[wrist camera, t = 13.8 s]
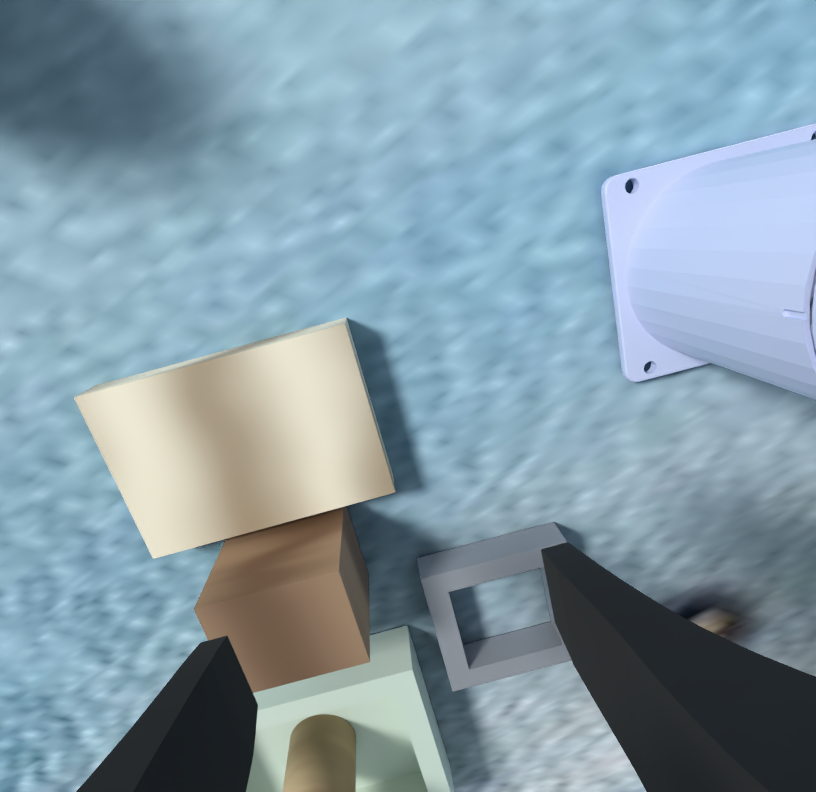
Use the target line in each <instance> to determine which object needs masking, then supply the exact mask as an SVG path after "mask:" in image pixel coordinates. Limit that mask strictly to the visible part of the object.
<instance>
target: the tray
mask: <svg viewBox="0 0 816 792" xmlns="http://www.w3.org/2000/svg"><path fill="white" fill-rule="evenodd" d="M253 694H254V697H255V699H256V701H257V703H258V710H257V723H256V735H255V744H254V754H253V760H252V765H251V770H250V775H249V780H248V784H247V789H246V792H282V791H283V784H284V777H285V770H286V763H287V757H288V750H289V743H290V736H291V733H292V731H293V729H294V728H295V727H296V726H297V725H298V724H299V723H300V722H301V721H303V720H304V719H306V718H308V717H311V716H314V715H320V714H330V715H335V716H339V717H341V718H343V719H345V720H346V721H348V722H349V723H350V724H351V725H352V726H353V728H354V730H355V733H356V792H455V791H454V785H453V779H452V773H451V767H450V763H449V760H448V757H447V754H446V750H445V747H444V744H443V740H442V737H441V734H440V731H439V727H438V724H437V721H436V717H435V714H434V711H433V708H432V704H431V701H430V698H429V695H428V691H427V688H426V685H425V681H424V678H423V675H422V672H421V668H420V665H419V662H418V658H417V655H416V652H415V649H414V645H413V642H412V639H411V636H410V632H409V629H408V626H403V627H399V628H395V629H392V630H388V631H384V632H380V633H376V634H373V635H370V662H369V663H365V664H361V665H357V666H353V667H350V668H346V669H342V670H338V671H335V672H331V673H327V674H323V675H319V676H316V677H312V678H308V679H304V680H300V681H297V682H293V683H289V684H285V685H282V686H278V687H274V688H270V689H266V690H263V691H259V692H255V693H253Z"/></svg>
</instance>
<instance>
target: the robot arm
mask: <svg viewBox="0 0 816 792" xmlns="http://www.w3.org/2000/svg"><path fill="white" fill-rule="evenodd" d="M813 133H814V134H815V136H816V123H815V124H811V125H807V126H803V127H800V128H796V129H792V130H788V131H784V132H780V133H776V134H773V135H769V136H765V137H761V138H757V139H753V140H749V141H746V142H742V143H738V144H734V145H730V146H726V147H722V148H719V149H715V150H711V151H707V152H703V153H699V154H696V155H692V156H688V157H684V158H680V159H676V160H672V161H669V162H665V163H661V164H657V165H653V166H649V167H645V168H642V169H638V170H634V171H630V172H626V173H622V174H618V175H615V176H612V177H610V178H608V179H607V180H606V181H605V182H604V183H603V186H602V188H601V197H602V206H603V214H604V223H605V231H606V240H607V248H608V256H609V265H610V273H611V282H612V290H613V299H614V307H615V316H616V324H617V333H618V341H619V349H620V358H621V366H622V373H623V376H624V377H625V378H626V379H628V380H630V381H632V382H640V381H644V380H648V379H652V378H656V377H660V376H663V375H667V374H671V373H675V372H679V371H682V370H686V369H690V368H694V367H698V366H702V365H705V364H709V363H713V364H716V365H719V366H721V367H724V368H727V369H730V370H733V371H736V372H738V373H741V374H744V375H747V376H750V377H752V378H755V379H758V380H761V381H764V382H767V383H769V384H772V385H775V386H778V387H781V388H784V389H786V390H789V391H792V392H795V393H798V394H800V395H803V396H806V397H809V398H812V399H815V400H816V139H814V140H811V138H812V135H813ZM627 180H631V181H632V182H633V185H634V186H633V190H632V192H631V193H628V192H626V190H625V183H626V182H627ZM649 361H650V362H651V367H650V369H649V370H647V371H644V366H645V364H646V363H647V362H649ZM541 553H542V558H543V564H544V569H545V574H546V579H547V584H548V589H549V595H550V600H551V605H552V610H553V615H554V620H555V624H556V626H557V628H558V630H559V633H560V635H561V637H562V639H563V642H564V644H565V646H566V648H567V651H568V653H569V655H570V657H571V659H572V662H573V664H574V666H575V668H576V669H577V671H578V673H579V675H580V676H581V678H582V680H583V682H584V683H585V685H586V687H587V689H588V690H589V692H590V694H591V695H592V697H593V699H594V701H595V702H596V704H597V706H598V707H599V709H600V711H601V713H602V714H603V716H604V718H605V719H606V721H607V723H608V724H609V726H610V728H611V730H612V731H613V733H614V735H615V736H616V738H617V740H618V742H619V743H620V745H621V747H622V748H623V750H624V752H625V753H626V755H627V757H628V759H629V760H630V762H631V764H632V765H633V767H634V769H635V771H636V773H637V774H638V776H639V778H640V780H641V782H642V784H643V786H644V787H645V789H646V791H647V792H816V677H815V676H812V675H810V674H807V673H804V672H802V671H799V670H797V669H794V668H792V667H789V666H787V665H784V664H782V663H779V662H777V661H774V660H772V659H769V658H767V657H764V656H762V655H760V654H757V653H755V652H753V651H751V650H748V649H746V648H744V647H741V646H739V645H737V644H735V643H733V642H731V641H729V640H727V639H725V638H723V637H720V636H718V635H716V634H714V633H712V632H710V631H708V630H706V629H704V628H702V627H700V626H698V625H696V624H694V623H692V622H691V621H689V620H687V619H685V618H683V617H682V616H680V615H678V614H676V613H674V612H673V611H671V610H669V609H667V608H666V607H664V606H662V605H661V604H659V603H657V602H656V601H654V600H652V599H651V598H649V597H647V596H646V595H644V594H643V593H641V592H640V591H638V590H636V589H635V588H633V587H632V586H630V585H629V584H627V583H625V582H624V581H622V580H621V579H619V578H618V577H616V576H615V575H613V574H612V573H611V572H609V571H608V570H606V569H605V568H603V567H602V566H600V565H599V564H598V563H596V562H595V561H593V560H592V559H591V558H589V557H588V556H586V555H585V554H584V553H582V552H581V551H579V550H578V549H577V548H575V547H574V546H572V545H571V544H569V543H567V542H566V543H562V544H559V545H555V546H551V547H548V548H544V549H541ZM257 710H258V703H257V701H256V699H255V697H254V694H253V692H252V690H251V688H250V685H249V683H248V681H247V679H246V676H245V674H244V672H243V670H242V667H241V665H240V663H239V661H238V658H237V656H236V654H235V652H234V649H233V647H232V645H231V642H230V640H229V638H228V636H223V637H220V638H216V639H212V640H209V641H205V642H201V643H200V644H199V645H198V646H197V647H196V649H195V650H194V651H193V652H192V653H191V654H190V656H189V657H188V658H187V659H186V660H185V662H184V663H183V664H182V665H181V667H180V668H179V669H178V670H177V672H176V673H175V674H174V675H173V677H172V678H171V679H170V681H169V682H168V683H167V684H166V686H165V687H164V688H163V689H162V691H161V692H160V693H159V694H158V696H157V697H156V698H155V699H154V701H153V702H152V703H151V704H150V706H149V707H148V708H147V709H146V711H145V712H144V713H143V714H142V715H141V717H140V718H139V719H138V720H137V722H136V723H135V724H134V725H133V727H132V728H131V729H130V730H129V732H128V733H127V734H126V735H125V736H124V737H123V739H122V740H121V741H120V742H119V743H118V744H117V746H116V747H115V748H114V749H113V750H112V751H111V752H110V754H109V755H108V756H107V757H106V758H105V759H104V761H103V762H102V763H101V764H100V765H99V766H98V768H97V769H96V770H95V771H94V772H93V773H92V775H91V776H90V777H89V778H88V779H87V780H86V782H85V783H84V784H83V785H82V786H81V787H80V788H79V789H78V790H77V791H76V792H246V789H247V784H248V780H249V775H250V770H251V765H252V760H253V754H254V744H255V735H256V723H257Z"/></svg>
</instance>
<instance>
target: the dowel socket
mask: <svg viewBox="0 0 816 792" xmlns="http://www.w3.org/2000/svg"><path fill="white" fill-rule="evenodd" d="M566 542H567V541H566V539H565V538H564V536H563V535H562V533H561V532H560V530H559V529H558V527H557V526H556V524H555V523H554V522H552V523H548V524H544V525H541V526H537V527H533V528H529V529H525V530H522V531H518V532H514V533H510V534H506V535H503V536H499V537H495V538H491V539H487V540H484V541H480V542H476V543H472V544H468V545H465V546H461V547H457V548H453V549H449V550H446V551H442V552H438V553H434V554H430V555H427V556H423V557H419V558H417V561H418V567H419V573H420V579H421V583H422V586H423V590H424V593H425V597H426V600H427V604H428V607H429V611H430V614H431V618H432V621H433V625H434V628H435V632H436V635H437V639H438V642H439V646H440V649H441V653H442V657H443V660H444V664H445V667H446V671H447V674H448V678H449V681H450V685H451V688H452V692H454V691H457V690H461V689H465V688H469V687H472V686H476V685H480V684H484V683H488V682H491V681H495V680H499V679H503V678H506V677H510V676H514V675H518V674H522V673H525V672H529V671H533V670H537V669H540V668H544V667H548V666H552V665H555V664H559V663H563V662H567V661H571V660H572V659H571V657H570V655H569V653H568V651H567V648H566V646H565V644H564V642H563V639H562V637H561V635H560V633H559V630H558V628H557V626H556V624H555V620H554V615H553V610H552V605H551V600H550V595H549V589H548V584H547V579H546V574H545V569H544V564H543V558H542V553H541V549H544V548H548V547H551V546H555V545H559V544H562V543H566ZM538 568H540V569H541V574H542V579H543V584H544V589H545V594H546V600H547V605H548V610H549V615H550V620H551V622H547V623H544V624H540V625H536V626H532V627H528V628H525V629H521V630H517V631H513V632H510V633H506V634H502V635H498V636H494V637H491V638H487V639H483V640H479V641H476V642H472V643H468V644H464V645H463V643H462V639H461V635H460V632H459V628H458V624H457V620H456V617H455V613H454V609H453V605H452V602H451V598H450V594H449V592H451V591H455V590H458V589H462V588H466V587H470V586H474V585H477V584H481V583H485V582H489V581H493V580H496V579H500V578H504V577H508V576H511V575H515V574H519V573H523V572H527V571H530V570H534V569H538Z"/></svg>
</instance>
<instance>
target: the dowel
mask: <svg viewBox="0 0 816 792" xmlns="http://www.w3.org/2000/svg"><path fill="white" fill-rule="evenodd" d="M282 792H356V733H355V730H354V728H353V726H352V725H351V724H350V723H349V722H348V721H346V720H345V719H343V718H341V717H339V716H335V715H330V714H320V715H314V716H311V717H308V718H306V719H304V720H303V721H301V722H300V723H299V724H298V725H297V726H296V727H295V728H294V729H293V731H292V733H291V736H290V743H289V750H288V757H287V763H286V770H285V777H284V784H283V791H282Z"/></svg>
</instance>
